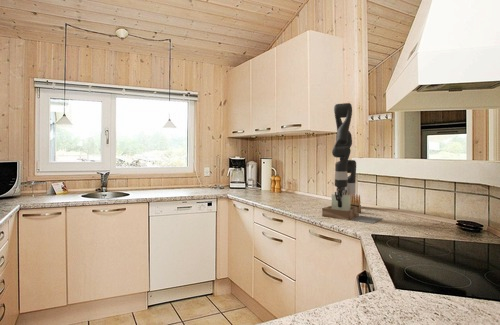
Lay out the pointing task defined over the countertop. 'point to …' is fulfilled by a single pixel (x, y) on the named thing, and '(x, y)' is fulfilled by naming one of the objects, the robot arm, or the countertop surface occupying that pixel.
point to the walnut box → (340, 213)
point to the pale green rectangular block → (345, 202)
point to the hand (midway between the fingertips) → (340, 206)
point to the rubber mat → (366, 219)
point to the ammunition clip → (355, 202)
